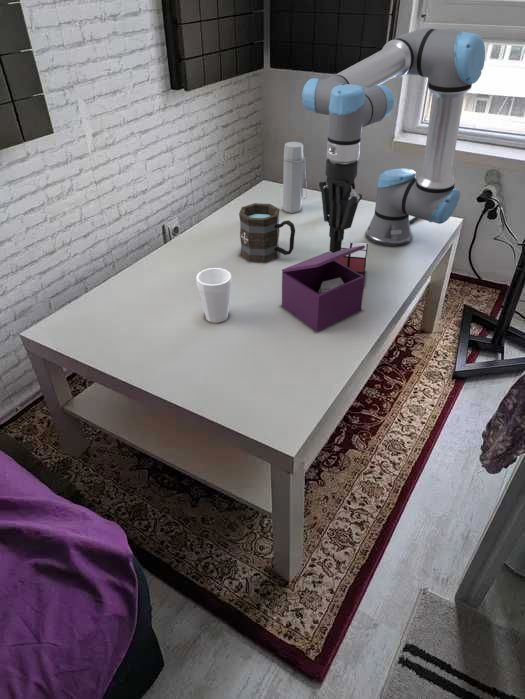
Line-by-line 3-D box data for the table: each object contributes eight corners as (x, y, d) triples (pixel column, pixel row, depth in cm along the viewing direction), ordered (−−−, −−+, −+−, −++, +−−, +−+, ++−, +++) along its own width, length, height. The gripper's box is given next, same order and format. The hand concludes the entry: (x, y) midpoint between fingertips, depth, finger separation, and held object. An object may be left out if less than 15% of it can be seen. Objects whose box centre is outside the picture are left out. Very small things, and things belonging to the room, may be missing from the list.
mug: (232, 256, 180) (230, 214, 171) (253, 240, 189) (252, 199, 180) (283, 271, 172) (284, 228, 163) (303, 253, 181) (304, 211, 172)
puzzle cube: (362, 287, 163) (366, 258, 157) (330, 284, 165) (332, 255, 159) (364, 271, 171) (368, 242, 165) (333, 268, 173) (335, 240, 167)
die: (314, 286, 157) (321, 271, 148) (344, 288, 158) (353, 273, 149) (314, 313, 155) (322, 300, 145) (344, 315, 156) (354, 302, 146)
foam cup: (238, 310, 155) (236, 270, 147) (226, 328, 148) (223, 288, 140) (208, 304, 157) (204, 265, 149) (194, 322, 150) (190, 282, 142)
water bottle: (281, 213, 206) (282, 147, 191) (284, 205, 212) (285, 140, 197) (305, 215, 205) (307, 148, 190) (307, 206, 211) (310, 141, 196)
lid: (365, 248, 142) (364, 245, 142) (317, 267, 135) (316, 264, 135) (327, 254, 156) (326, 252, 156) (282, 272, 149) (281, 269, 149)
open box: (360, 310, 154) (365, 276, 147) (316, 331, 146) (319, 296, 139) (324, 288, 164) (326, 254, 157) (281, 306, 156) (282, 272, 149)
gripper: (311, 155, 128) (307, 245, 142) (350, 170, 119) (341, 264, 134) (335, 148, 131) (329, 237, 146) (374, 163, 123) (363, 255, 137)
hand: (335, 250), depth 140 cm, fingers closed
